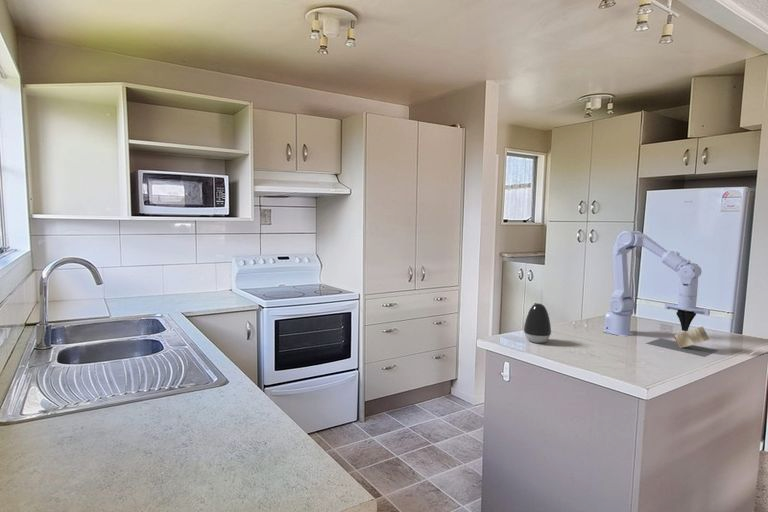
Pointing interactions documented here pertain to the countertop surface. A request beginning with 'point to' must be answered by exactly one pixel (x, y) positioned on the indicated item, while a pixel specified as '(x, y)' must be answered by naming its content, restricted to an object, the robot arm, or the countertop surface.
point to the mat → (688, 349)
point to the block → (691, 337)
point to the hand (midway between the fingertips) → (684, 330)
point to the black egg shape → (537, 324)
